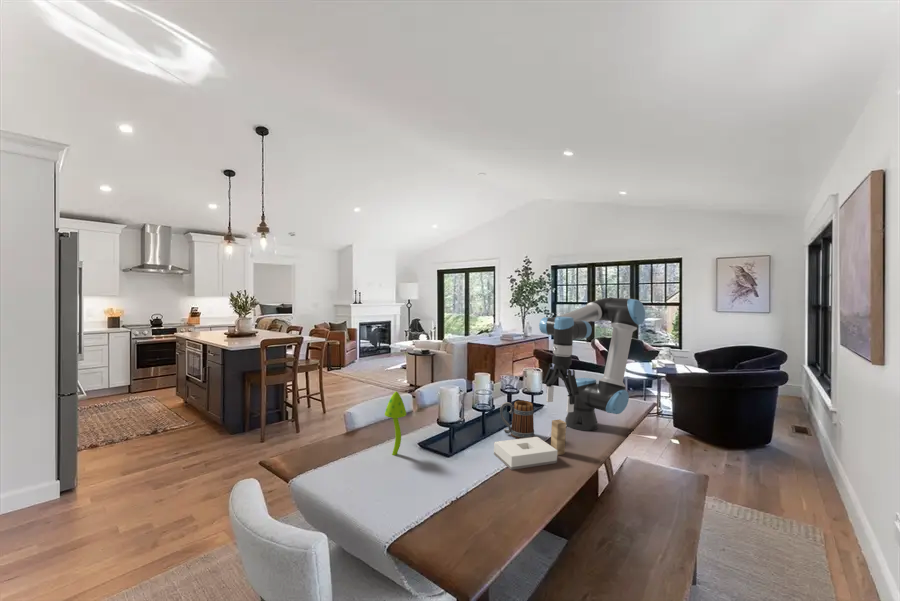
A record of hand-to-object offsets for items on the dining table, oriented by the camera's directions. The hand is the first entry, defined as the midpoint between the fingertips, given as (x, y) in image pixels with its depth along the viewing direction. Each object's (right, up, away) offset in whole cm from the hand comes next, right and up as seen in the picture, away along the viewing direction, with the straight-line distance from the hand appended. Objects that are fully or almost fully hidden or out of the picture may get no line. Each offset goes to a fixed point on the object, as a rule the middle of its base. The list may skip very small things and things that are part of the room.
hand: (559, 406), depth 165 cm
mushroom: (-66, -17, -6) cm, 69 cm away
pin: (0, -19, +1) cm, 19 cm away
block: (-15, -19, -6) cm, 25 cm away
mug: (-14, -18, +18) cm, 29 cm away
